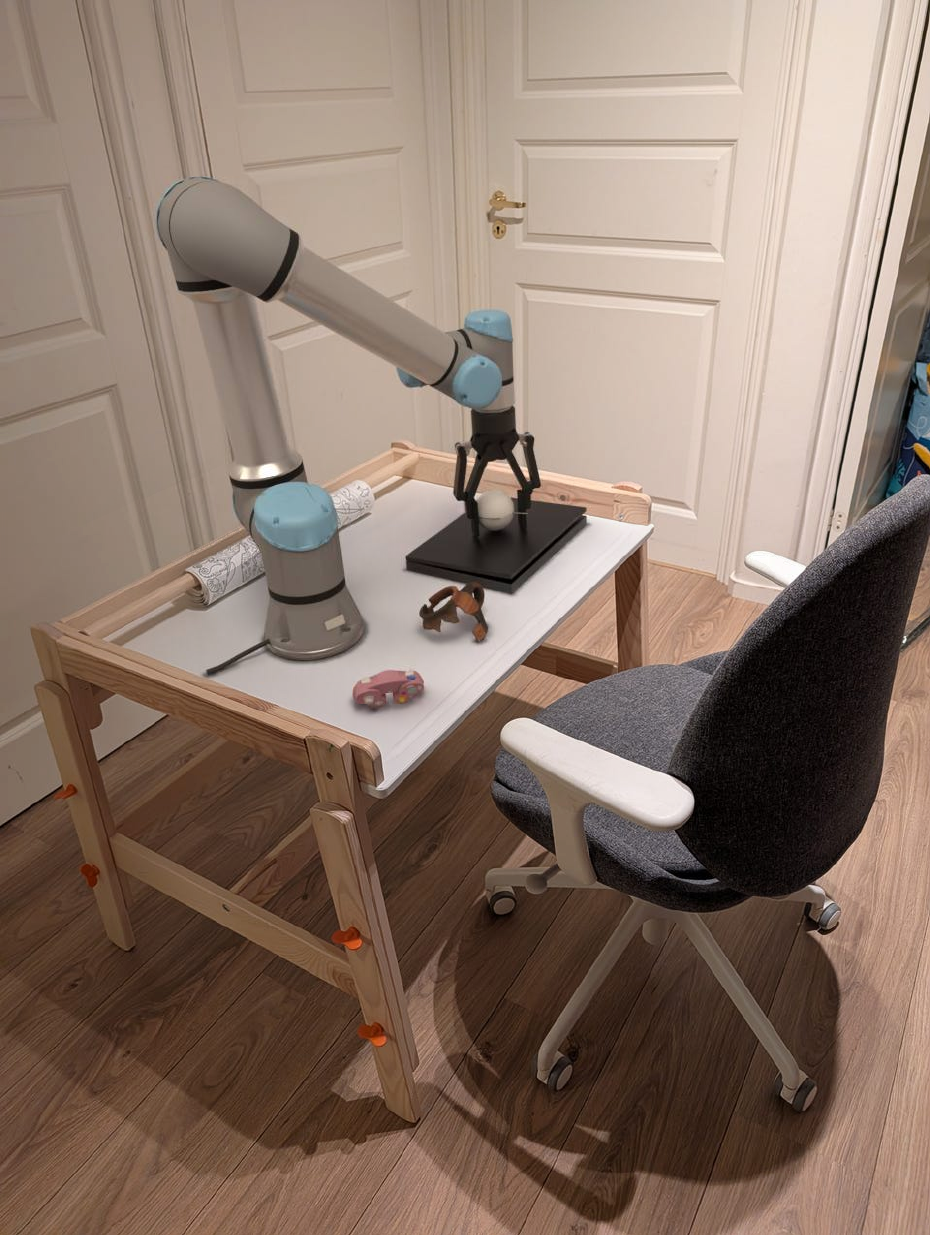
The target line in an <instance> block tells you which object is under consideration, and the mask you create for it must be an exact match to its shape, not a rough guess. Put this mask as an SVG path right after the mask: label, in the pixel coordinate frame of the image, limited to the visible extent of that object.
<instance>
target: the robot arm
mask: <svg viewBox="0 0 930 1235" xmlns="http://www.w3.org/2000/svg"><path fill="white" fill-rule="evenodd" d="M155 227H156V233H157V236H158V238H159V241H160V242H161V243H162V246H163V247H164V248H165V250H166V251H167V255H168V258H169V262H170V266H171V270H172V273H173V276H174V280H175V284H176V287H177V291H178V292H179V294H180V295H183V297H185V298H187V299H188V300H190V301H191V302H192V305H193V308H194V311H195V312H194V313H195V315H196V318H197V323H198V327H199V330H200V334H201V338H202V341H203V346H204V349H205V353H206V356H207V360H208V364H209V368H210V371H211V375H212V379H213V383H214V386H215V391H216V394H217V397H218V401H219V405H220V410H221V413H222V416H223V420H224V423H225V428H226V431H227V435H228V439H229V443H230V446H231V450H232V453H233V458H234V459H233V461H232V463H231V464H230V466H229V467H228V469H227V474H228V477H229V481H230V484H231V488H232V492H231V493H232V496H231V497H232V498H231V499H232V508H233V510H234V513H235V516H236V518H237V520H238V521H239V523H240V524H241V525H242V527H243V528H244V529H245V531H246V532H247V533H248V535H249V537H250V538H251V539H252V541H253V543H254V544H255V546H256V548H257V549H258V551H259V553H260V556H261V558H262V563H263V568H264V573H265V580H266V584H267V589H268V595H269V599H268V604H267V611H266V617H265V623H264V638H265V640H263V641H261V642H258V643H257V644H254V645H253V646H251V647H249V648H247V649H245V650H244V651H242V652H240V653H238V654H236V655H234V656H232V657H230V658H229V659H228V660H226V661H224V662H222V663H220V664H218V665H216V666H214V667H210V668H207V669H206V670H205V671H206V672H205V673H206V674H207V675H210V674H211V675H212V674H213V673H216V672H219V671H221V670H223V669H225V668H227V667H229V666H231V665H233V664H235V663H236V662H238V661H239V660H241V659H243V658H244V657H247V656H248V655H250V654H252V653H254V652H256V651H258V650H260V649H262V648H264V647H265V646H267V648H268V649H269V650H270V652H272V653H273V654H274V655H276V656H278V657H280V658H281V657H282V658H285V659H288V660H294V661H296V660H297V661H311V660H312V661H313V660H320V659H324V658H330V657H333V656H335V655H337V654H340V653H343V652H345V651H346V650H348V649H350V648H351V647H353V646H354V645H355V644H357V642H359V641H360V639H361V638H362V636H363V634H364V622H363V617H362V614H361V612H360V609H359V607H358V606H357V603H356V602H355V600H354V598H353V596H352V595H351V592H350V590H349V589H348V586H347V583H346V576H345V569H344V561H343V555H342V554H343V553H342V546H341V540H340V531H339V516H338V511H337V509H336V506H335V502H334V500H333V497H332V496H331V494H330V493H329V491H328V490H326V489H325V488H323V487H321V486H320V485H317V484H314V483H313V484H310V483H309V482H308V478H307V473H306V469H305V464H304V460H303V456H302V455H301V453H300V452H298V451H297V450H295V449H294V448H292V447H291V446H290V442H289V439H288V434H287V429H286V425H285V421H284V418H283V413H282V408H281V404H280V400H279V395H278V391H277V386H276V382H275V378H274V374H273V369H272V365H271V360H270V357H269V353H268V347H267V342H266V340H265V335H264V331H263V326H262V322H261V318H260V313H259V309H258V305H257V301H256V298H257V299H259V300H260V301H262V302H264V303H267V304H268V303H271V302H275V301H279V302H280V303H281V304H284V305H285V306H288V308H291V309H293V310H294V311H296V312H298V313H300V314H301V315H304V316H305V317H306V318H309V319H310V320H312V321H314V322H316V323H318V324H319V325H321V326H323V327H325V328H327V329H328V330H330V331H332V332H334V333H335V334H337V335H339V336H340V337H343V338H345V339H346V340H347V341H350V342H352V343H353V344H356V345H357V346H358V347H360V348H362V349H364V350H366V351H368V352H369V353H371V354H373V355H374V356H376V357H378V358H379V359H382V360H383V361H385V362H387V363H389V364H390V365H392V366H394V367H395V368H396V372H397V375H398V378H399V380H400V382H401V383H402V384H403V386H404V387H406V388H409V389H412V388H423V387H425V386H429V387H431V388H433V389H435V390H437V391H438V392H440V393H441V394H443V395H445V396H446V397H449V398H451V399H452V400H453V401H455V402H456V403H457V404H460V405H461V406H463V407H465V408H469V409H471V410H470V422H471V437H470V439H469V440H468V441H465V442H462V443H461V442H460V441H457V442H456V443H455V444H454V449H455V453H456V462H455V471H454V481H453V490H452V495H453V497H454V498H455V499H456V501H458V502H463V505H464V513H465V515H466V516H467V518H468V519H471V528H472V532H473V534H474V535H475V537H478V536H480V535H479V519H478V503H477V499H476V498H475V496H476V494H477V491H478V488H479V485H480V483H481V480H482V478H483V474H484V472H485V470H486V468H487V467H488V464H489V463H491V462H496V461H505V460H506V462H507V464H508V465H509V468H510V469H511V470H512V473H513V475H514V477H515V478H516V481H517V482H518V484H519V486H520V488H519V489H517V490H516V496H517V497H516V498H517V500H518V523H519V524H520V526H521V527H522V528H523V529H525V528H527V520H526V514H522V513H526V509H530V508H531V500H532V495H533V493H534V490H535V489H540V488H541V486H542V482H541V478H540V474H539V468H538V464H537V460H536V456H535V450H534V446H535V437H534V436H533V434H531V432H529V431H525V432H524V433H518V431H517V422H516V418H517V417H516V407H515V406H514V405H515V404H516V395H515V394H516V393H515V379H514V378H515V376H514V351H513V350H514V348H513V346H514V345H513V344H514V343H513V342H514V336H513V328H512V327H513V326H512V321H511V317H510V315H509V313H507V311H504V310H500V309H479V310H474V311H473V312H468V313H467V314H466V315H465V316H464V324H463V327H462V328H459V329H455V330H451V331H445V332H444V331H443V330H441V329H439V328H438V327H436V326H434V325H433V324H431V323H429V322H428V321H426V320H425V319H423V318H421V317H419V316H418V315H416V314H414V313H413V312H411V311H410V310H408V309H406V308H405V307H403V306H401V305H399V303H397V302H395V301H393V300H392V299H390V298H389V297H387V296H385V295H384V294H382V293H380V292H379V291H377V290H376V289H374V288H372V287H370V286H369V285H368V284H366V283H364V282H363V281H361V280H360V279H357V278H356V277H354V276H353V275H352V274H349V273H348V272H346V271H344V270H343V269H341V268H339V267H338V266H336V265H334V264H333V263H332V262H330V261H328V260H327V259H326V258H323V257H322V256H320V255H318V254H316V253H315V252H314V251H313V250H311V249H309V248H307V247H306V246H304V243H303V240H302V236H301V234H299V233H298V232H296V230H294V229H291V228H290V227H288V226H287V225H285V224H284V223H283V222H282V221H280V220H278V219H277V218H275V216H273V215H272V214H270V212H268V211H266V210H265V209H264V208H263V207H261V205H259V204H258V203H257V202H255V200H253V199H252V198H251V197H250V196H248V195H247V194H246V193H244V192H243V191H242V190H240V189H239V188H237V187H235V186H234V185H231V184H229V183H225V182H222V181H220V180H217V179H215V178H212V177H209V176H204V175H203V176H190V177H188V178H183V179H180V180H178V181H176V182H175V183H173V184H172V185H170V186H169V187H168V188H167V189H166V190H165V192H164V193H163V194H162V196H161V198H160V199H159V202H158V205H157V208H156V214H155ZM518 442H519V445H520V446H521V447H522V450H523V455H524V459H525V464H526V468H527V472H528V478H529V480H528V479H527V478H526V476H525V475H524V472H523V470H522V468H521V466H520V464H519V463H518V461H517V458H516V456H515V454H514V453H513V451H514V449H515V447H516V446H517V444H518ZM471 449H473V450H474V451H475V452H476V455H475V458H474V464H473V466H472V470H471V472H470V475H469V477H468V481H467V483H466V475H467V466H468V456H470V452H471ZM465 483H466V485H465Z"/></svg>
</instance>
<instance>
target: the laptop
mask: <svg viewBox="0 0 930 1235" xmlns="http://www.w3.org/2000/svg"><path fill="white" fill-rule="evenodd" d="M587 523H588V516H587V515H585V514H583V515H582V516H581V517H580V518H578V519H577V520H576V521H575V522H574V523H573V524H572V525H571V526H570V527H568V528H567V529H566V530H565V531H564V532H563V533H562V534H561V535H560V536H558V537H557V538H556V539H555V540H554V541H553V542H552V543H551V544H550V545H549V546H547V547H546V548H545V549H544V550H543V551H542V552H541V553H540V554H539V555H537V556H536V557H535V558H534V559H533V560H532V561H531V562H530V563H529V564H527V565H526V566H525V567H524V568H523V569H522V570H521V571H520V572H519V573H517V574H516V575H515V576H514V577H513V578H512V579H507V578H501V577H495V576H490V575H484V574H479V573H473V572H468V571H462V570H457V569H451V568H446V567H440V566H435V565H429V564H424V563H418V562H413V561H407V560H406V559H405V566H406V571H410V572H414V573H417V574H421V575H422V574H424V575H427V576H430V577H431V576H432V577H436V578H440V579H444V580H448V581H453V582H458V583H461V584H466V585H467V584H468V583H472V582H476V583H478V584H480V585H481V586H482V588H483V589H488V590H493V591H496V592H500V593H505V594H508V595H509V594H510V595H512V594H514V593H516V591H517V590H518V589H519V588H520V587H521V586H522V585H524V583H526V582H527V581H528V580H529V579H530V578H531V577H532V576H533V575H534V574H535V573H536V572H537V571H538V570H539V569H540V568H542V567H543V566H544V565H545V564H546V563H547V562H548V561H549V560H550V559H551V558H552V557H553V556H555V555H556V554H557V553H558V552H559V551H560V550H561V549H562V548H563V547H564V546H565V545H567V544H568V543H569V542H570V541H571V540H572V539H573V538H574V537H575V536H576V535H577V534H578V533H579V532H581V531H582V530H583V529H584V528H585V527H586V526H587V525H588V524H587Z"/></svg>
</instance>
